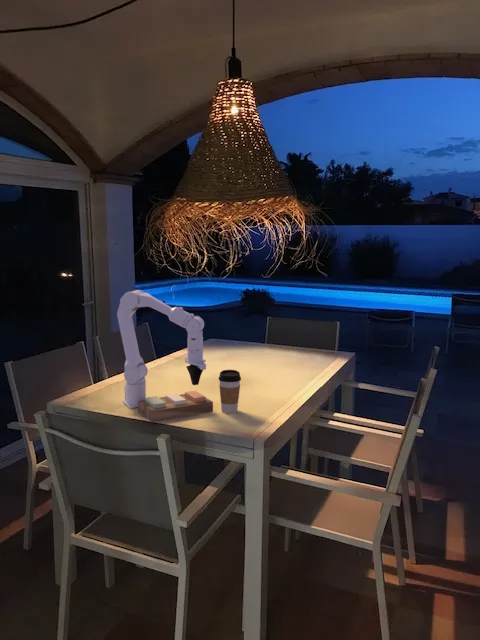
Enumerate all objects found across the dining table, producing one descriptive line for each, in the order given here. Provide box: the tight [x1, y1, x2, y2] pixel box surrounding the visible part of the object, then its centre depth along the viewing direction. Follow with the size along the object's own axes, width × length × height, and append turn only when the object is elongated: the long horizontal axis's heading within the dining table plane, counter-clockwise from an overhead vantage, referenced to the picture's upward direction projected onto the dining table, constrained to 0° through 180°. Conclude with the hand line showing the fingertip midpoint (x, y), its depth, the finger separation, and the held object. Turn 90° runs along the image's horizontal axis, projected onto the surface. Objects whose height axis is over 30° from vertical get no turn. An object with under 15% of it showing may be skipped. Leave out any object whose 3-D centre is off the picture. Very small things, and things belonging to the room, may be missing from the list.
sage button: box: [145, 396, 166, 409], centre depth 195 cm, size 9×4×4 cm, turn 30°
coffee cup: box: [218, 369, 242, 415], centre depth 199 cm, size 8×8×15 cm
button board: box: [137, 393, 214, 423], centre depth 199 cm, size 14×24×4 cm, turn 120°
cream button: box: [164, 393, 186, 406], centre depth 199 cm, size 9×4×4 cm, turn 30°
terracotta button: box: [184, 390, 207, 402], centre depth 203 cm, size 9×4×4 cm, turn 30°
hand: (195, 384), depth 202 cm, fingers closed
